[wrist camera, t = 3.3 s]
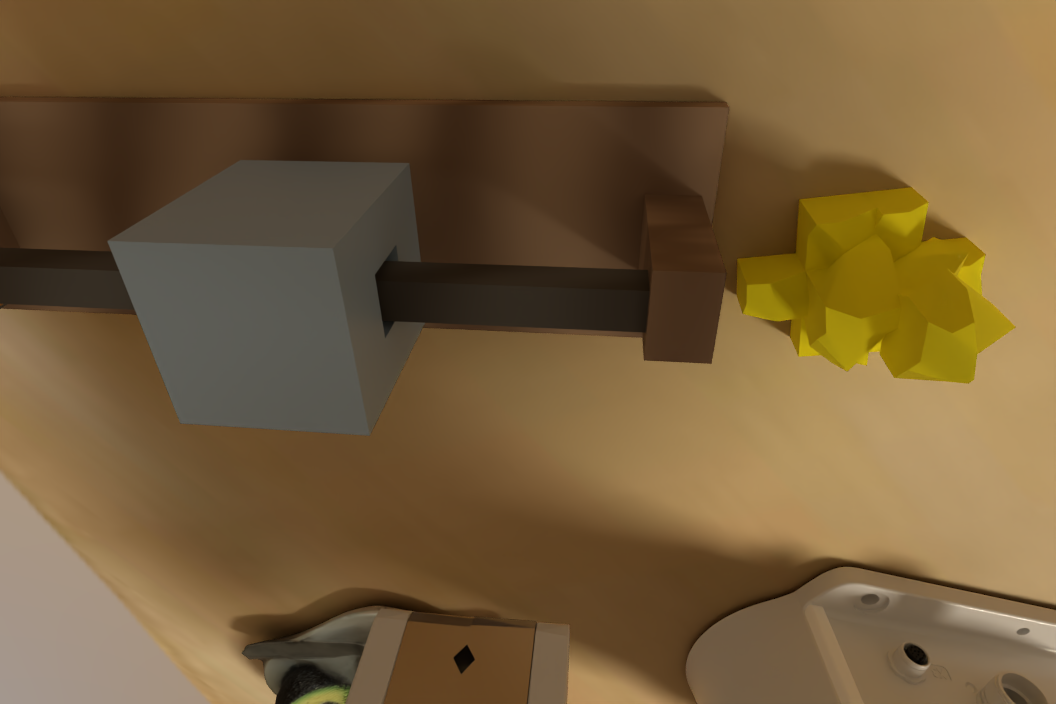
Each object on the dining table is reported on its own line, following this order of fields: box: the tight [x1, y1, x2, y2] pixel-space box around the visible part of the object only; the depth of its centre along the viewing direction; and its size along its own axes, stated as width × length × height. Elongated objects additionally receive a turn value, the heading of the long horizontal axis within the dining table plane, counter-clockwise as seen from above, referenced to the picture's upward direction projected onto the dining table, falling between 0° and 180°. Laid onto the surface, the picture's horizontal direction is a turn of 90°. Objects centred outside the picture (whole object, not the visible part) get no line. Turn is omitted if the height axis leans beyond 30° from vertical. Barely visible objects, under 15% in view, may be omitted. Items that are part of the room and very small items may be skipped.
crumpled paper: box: [737, 187, 1015, 384], centre depth 21 cm, size 6×8×8 cm
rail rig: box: [0, 97, 729, 364], centre depth 22 cm, size 31×9×8 cm, turn 91°
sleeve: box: [107, 160, 425, 436], centre depth 21 cm, size 6×6×7 cm
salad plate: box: [242, 605, 402, 704], centre depth 42 cm, size 19×18×5 cm
